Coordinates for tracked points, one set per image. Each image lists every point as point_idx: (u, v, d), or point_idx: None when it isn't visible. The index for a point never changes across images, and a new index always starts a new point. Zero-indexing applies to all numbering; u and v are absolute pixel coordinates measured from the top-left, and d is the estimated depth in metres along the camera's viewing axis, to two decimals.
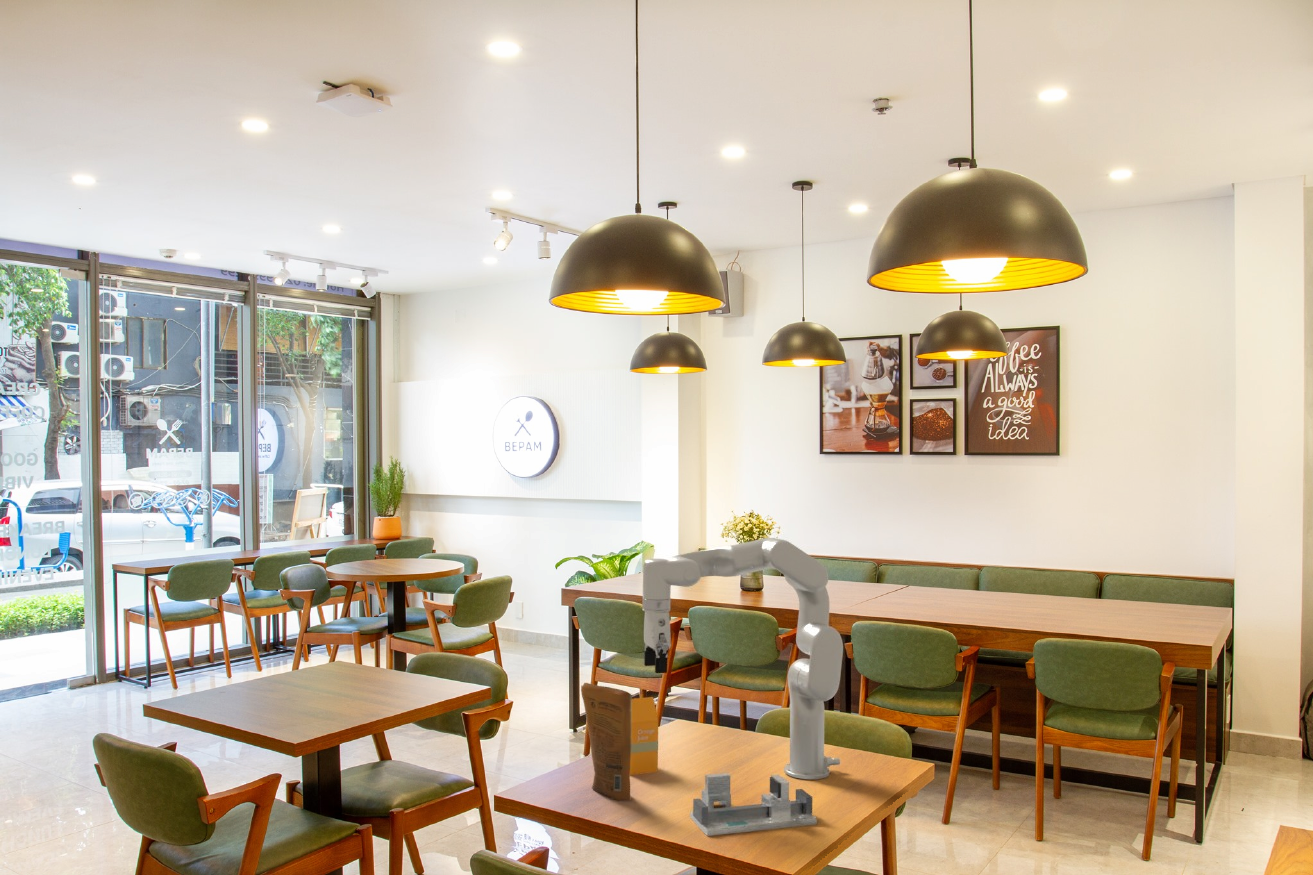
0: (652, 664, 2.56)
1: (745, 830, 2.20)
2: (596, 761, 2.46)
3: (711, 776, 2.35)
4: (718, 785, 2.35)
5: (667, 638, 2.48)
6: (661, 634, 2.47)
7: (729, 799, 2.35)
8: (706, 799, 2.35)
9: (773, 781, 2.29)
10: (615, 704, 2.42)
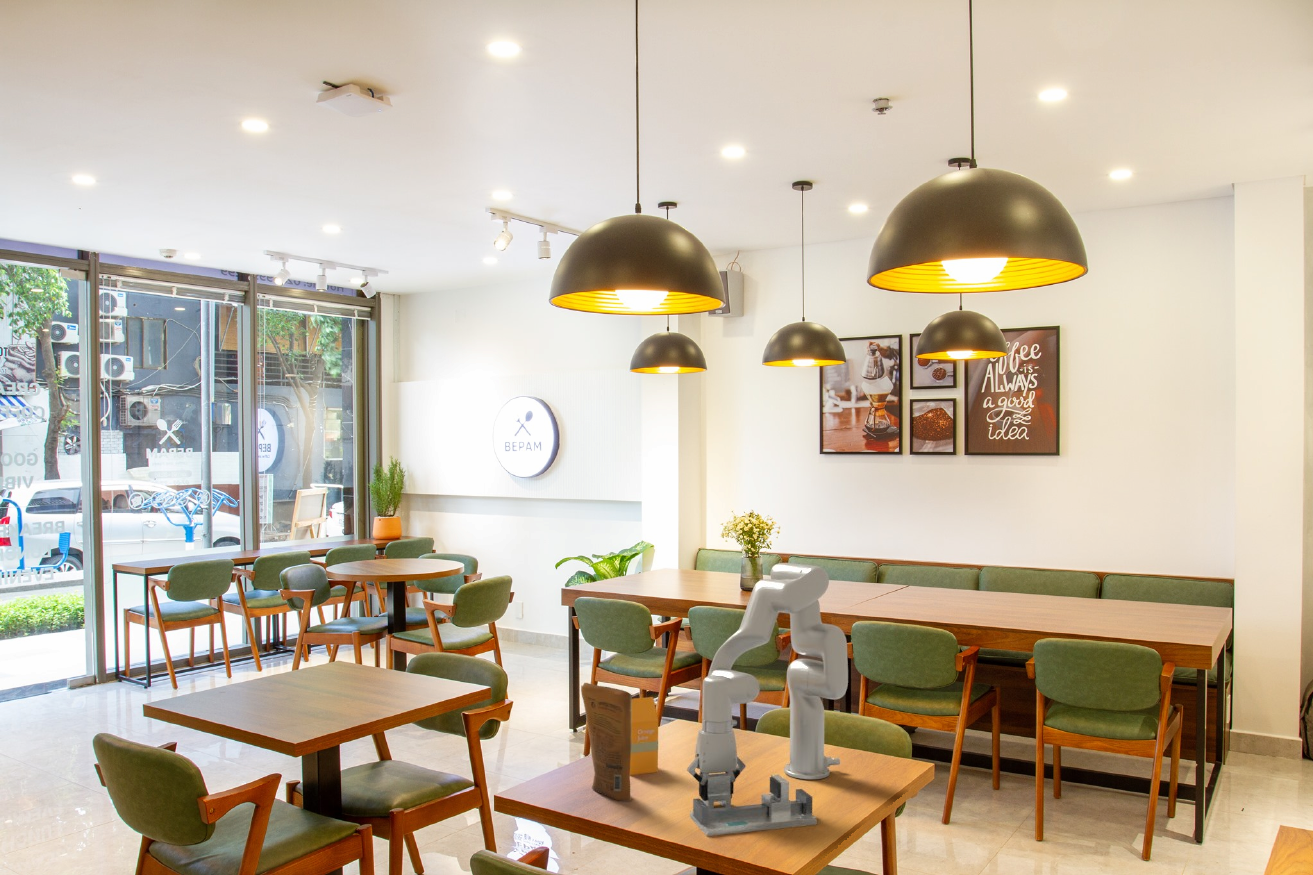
0: None
1: (745, 830, 2.20)
2: (596, 761, 2.46)
3: (711, 776, 2.35)
4: (718, 785, 2.35)
5: None
6: None
7: (729, 799, 2.35)
8: None
9: (773, 781, 2.29)
10: (615, 704, 2.42)
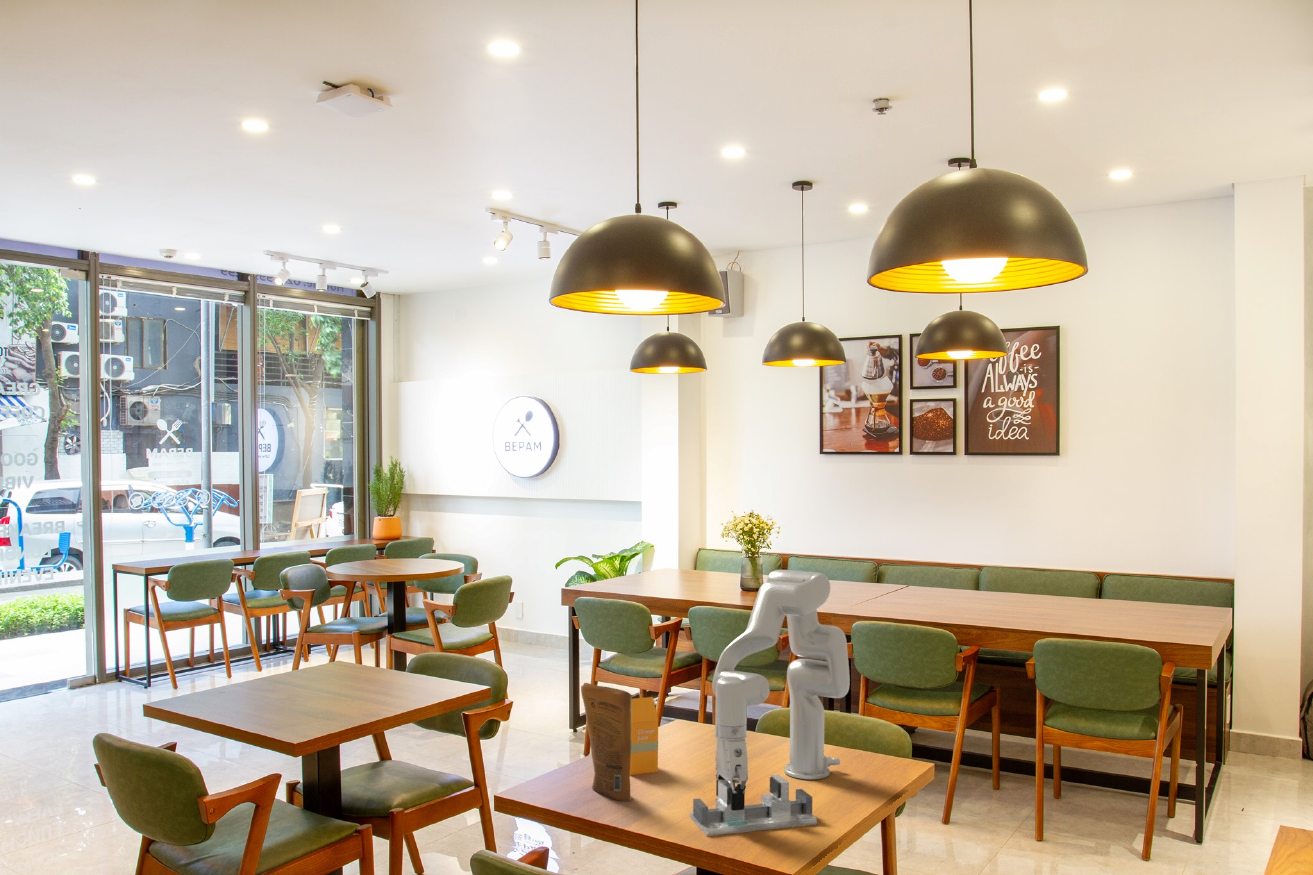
0: None
1: (745, 830, 2.20)
2: (596, 761, 2.46)
3: (721, 781, 2.27)
4: (722, 793, 2.25)
5: (744, 770, 2.21)
6: (738, 766, 2.20)
7: (724, 812, 2.22)
8: None
9: (773, 781, 2.29)
10: (615, 704, 2.42)
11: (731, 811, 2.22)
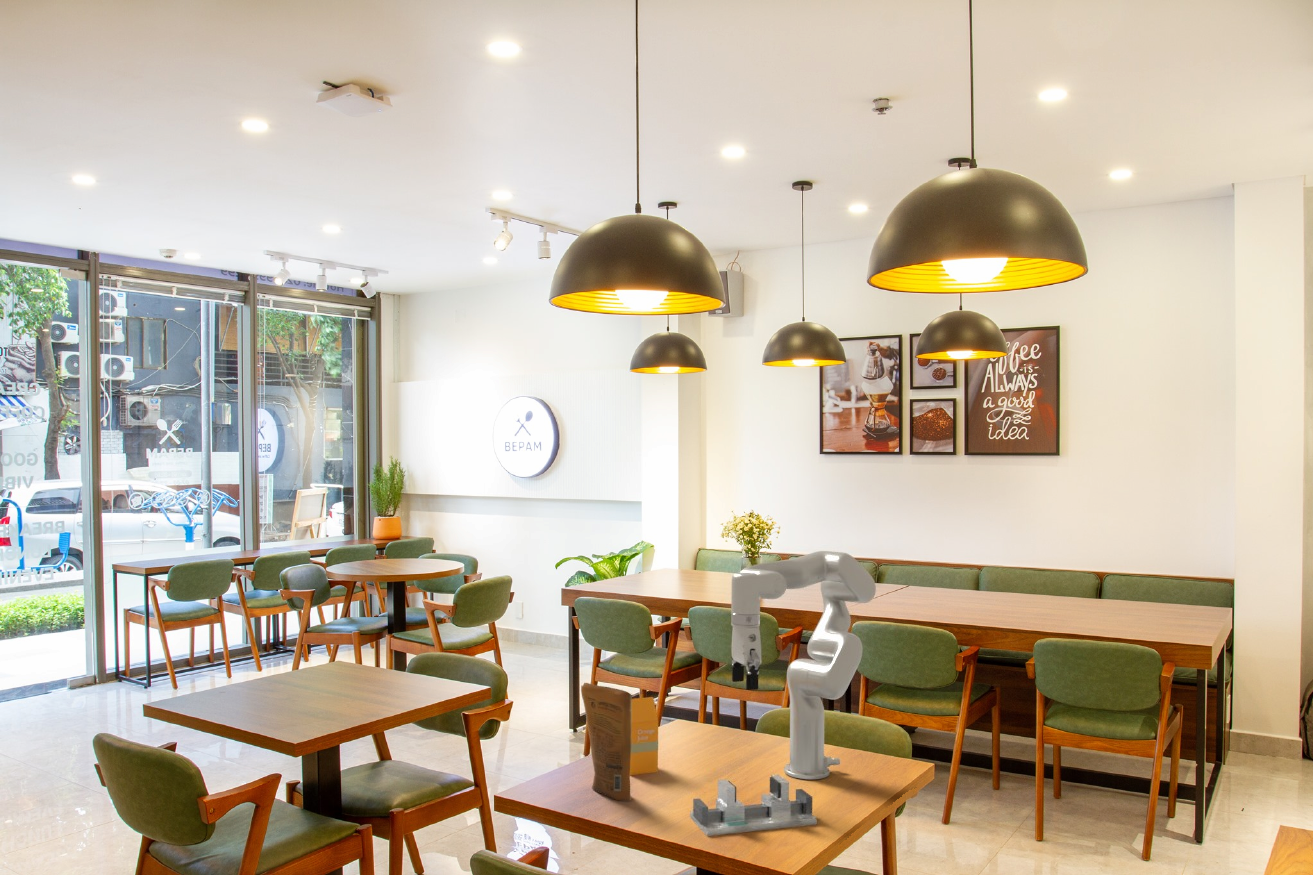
0: (740, 680, 2.51)
1: (745, 830, 2.20)
2: (596, 761, 2.46)
3: (721, 781, 2.27)
4: (722, 793, 2.25)
5: (758, 654, 2.42)
6: (752, 650, 2.42)
7: (724, 812, 2.22)
8: None
9: (773, 781, 2.29)
10: (615, 704, 2.42)
11: (731, 811, 2.22)
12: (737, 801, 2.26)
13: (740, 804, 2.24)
